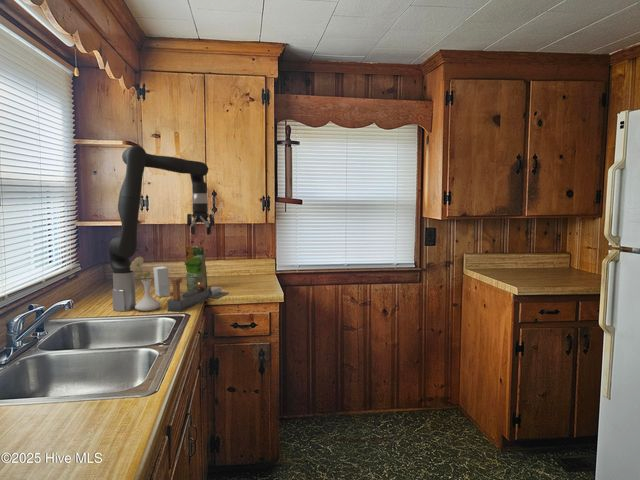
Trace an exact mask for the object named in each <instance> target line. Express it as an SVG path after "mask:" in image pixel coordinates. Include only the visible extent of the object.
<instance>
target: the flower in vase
mask: <svg viewBox="0 0 640 480" xmlns="http://www.w3.org/2000/svg"><path fill="white" fill-rule="evenodd" d="M131 263H132V264H131V265H130V268H131V269H130V270H131V271H134V272H136V271H138V270H139V269H140V272H141V273H138V274H137V275H136V276H135V280H137V279H141V278H142V277H143V278H144V279H141V280H140V281H141V283H142V284H143V288H144V295H143V297H142V298H141V299H139V301H137V302H136V305H135V310H138V311H142V312H143V311H145V312H146V311H147V312H148V311H153V310H157V309H159V308H160V307H161V306H162V303H161V302H160V301H158V299H156V298H154V297H153V296H152V295H151V283H152V281H153V279H152V278H148V277H151V271H148V272H146V273H143V269H142V268H141V267H142V266H143V264H144V257H142V256H138V257H135V258H134V260H133V261H131Z"/></svg>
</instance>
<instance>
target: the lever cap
mask: <svg viewBox="0 0 640 480" xmlns="http://www.w3.org/2000/svg"><path fill="white" fill-rule="evenodd" d="M207 289H209V297H213V296H215V295H217V294H219V293H222V292H223V291H222V286H210V287H207Z"/></svg>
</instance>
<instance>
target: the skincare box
mask: <svg viewBox="0 0 640 480" xmlns="http://www.w3.org/2000/svg"><path fill="white" fill-rule="evenodd" d="M152 269H153V282H154V294H155V296H157V297H159V298H162V297H169V296H170V297H171V288H170V275H169V267H167V266H165V265H164V266H163V265H161V266H155V267H153V268H152Z"/></svg>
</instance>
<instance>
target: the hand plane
mask: <svg viewBox="0 0 640 480" xmlns="http://www.w3.org/2000/svg"><path fill="white" fill-rule="evenodd" d="M182 279H183V278H182V277H176V278H173V279H171V285H172V296H173V297H172V298H170V299H167V312H173V313H174V312H175V313H181V312H185V311H186V310H188V309H190V308H192V307H195V306H197V305H199V304H202V303H204V302H206V301H208V300H210V298H209V289H204V281H199V282H197V284H198V289H191V290H186V291H183V292H182V294H181V287H180V286H181V283H182V282H183V280H182Z"/></svg>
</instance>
